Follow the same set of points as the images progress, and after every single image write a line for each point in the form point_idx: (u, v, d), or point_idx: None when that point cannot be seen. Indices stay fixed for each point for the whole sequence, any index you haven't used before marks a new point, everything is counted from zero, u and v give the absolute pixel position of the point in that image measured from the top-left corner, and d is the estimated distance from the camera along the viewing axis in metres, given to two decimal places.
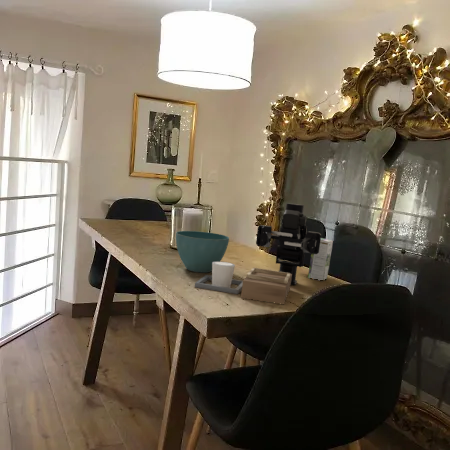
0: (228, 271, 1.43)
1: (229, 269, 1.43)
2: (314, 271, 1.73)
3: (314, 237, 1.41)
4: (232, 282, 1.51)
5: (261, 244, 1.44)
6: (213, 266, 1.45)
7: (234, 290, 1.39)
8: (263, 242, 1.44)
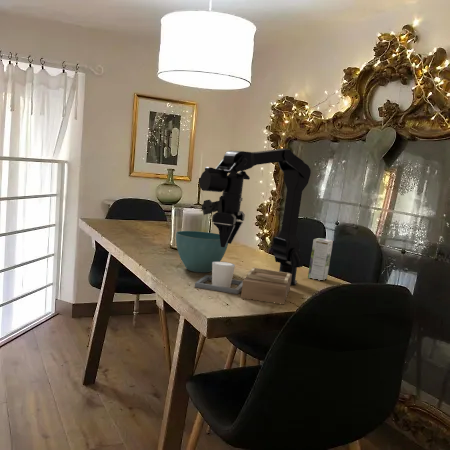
0: (228, 271, 1.43)
1: (229, 269, 1.43)
2: (314, 271, 1.73)
3: (216, 225, 1.38)
4: (232, 282, 1.51)
5: None
6: (213, 266, 1.45)
7: (234, 290, 1.39)
8: None
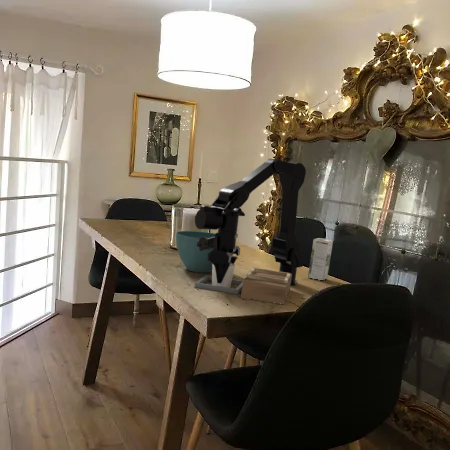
0: (228, 271, 1.43)
1: (229, 269, 1.43)
2: (314, 271, 1.73)
3: None
4: (232, 282, 1.51)
5: None
6: (213, 266, 1.45)
7: (234, 290, 1.39)
8: None
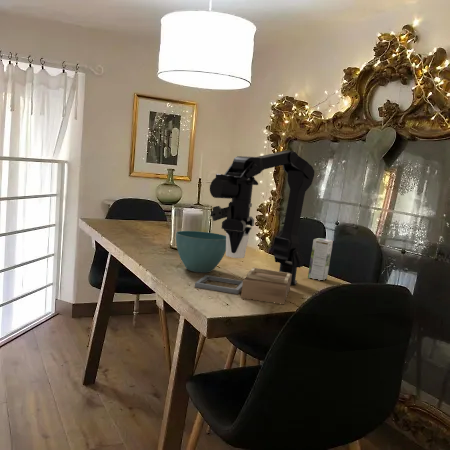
0: (242, 240, 1.42)
1: (243, 238, 1.42)
2: (314, 271, 1.73)
3: (227, 231, 1.39)
4: (232, 282, 1.51)
5: None
6: (227, 236, 1.43)
7: (234, 290, 1.39)
8: None
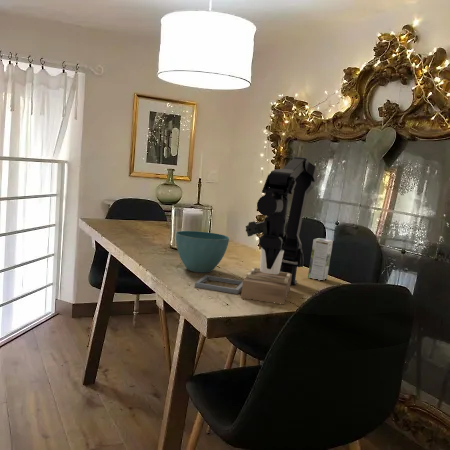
0: (278, 256, 1.40)
1: (279, 254, 1.40)
2: (314, 271, 1.73)
3: None
4: (232, 282, 1.51)
5: None
6: (262, 251, 1.41)
7: (234, 290, 1.39)
8: None
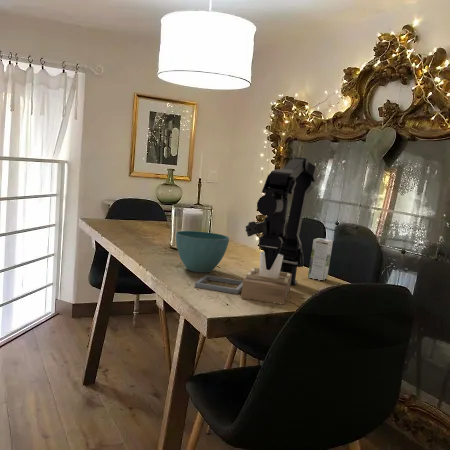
0: (277, 261, 1.40)
1: (278, 259, 1.40)
2: (314, 271, 1.73)
3: (263, 247, 1.35)
4: (232, 282, 1.51)
5: None
6: (261, 256, 1.41)
7: (234, 290, 1.39)
8: None
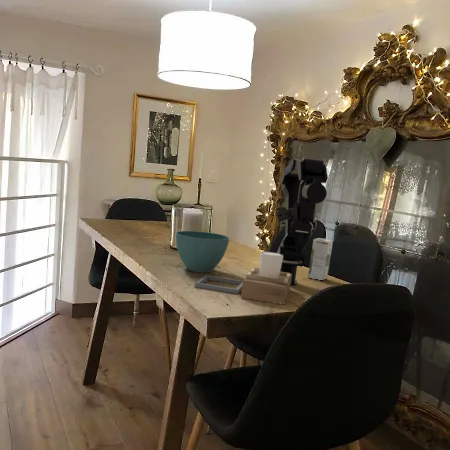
0: (277, 261, 1.40)
1: (278, 259, 1.40)
2: (314, 271, 1.73)
3: (294, 232, 1.39)
4: (232, 282, 1.51)
5: None
6: (261, 256, 1.41)
7: (234, 290, 1.39)
8: None
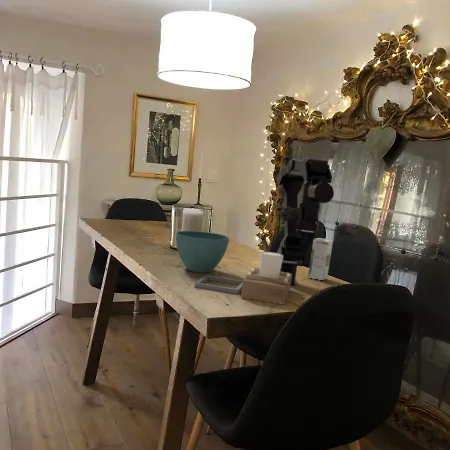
0: (277, 261, 1.40)
1: (278, 259, 1.40)
2: (314, 271, 1.73)
3: (299, 232, 1.40)
4: (232, 282, 1.51)
5: None
6: (261, 256, 1.41)
7: (234, 290, 1.39)
8: None
